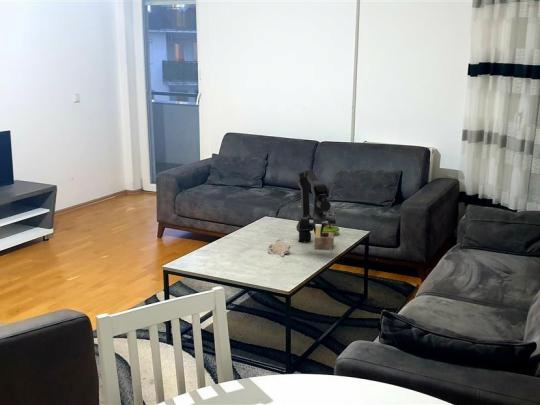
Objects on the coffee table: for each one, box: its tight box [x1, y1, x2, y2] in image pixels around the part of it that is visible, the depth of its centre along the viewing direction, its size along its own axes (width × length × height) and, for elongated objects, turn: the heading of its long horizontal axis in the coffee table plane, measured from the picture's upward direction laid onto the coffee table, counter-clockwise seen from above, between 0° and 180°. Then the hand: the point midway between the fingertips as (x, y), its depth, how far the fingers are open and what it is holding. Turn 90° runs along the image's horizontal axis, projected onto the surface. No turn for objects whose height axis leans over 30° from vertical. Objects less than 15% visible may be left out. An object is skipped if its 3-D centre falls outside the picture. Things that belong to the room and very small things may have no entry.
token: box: [314, 225, 322, 239], centre depth 330 cm, size 2×5×5 cm, turn 172°
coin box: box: [314, 232, 335, 251], centre depth 344 cm, size 10×10×7 cm
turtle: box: [267, 238, 295, 257], centre depth 334 cm, size 16×10×10 cm, turn 70°
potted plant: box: [322, 209, 340, 234], centre depth 367 cm, size 14×13×15 cm
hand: (318, 234), depth 331 cm, fingers closed on token, 2 cm apart
